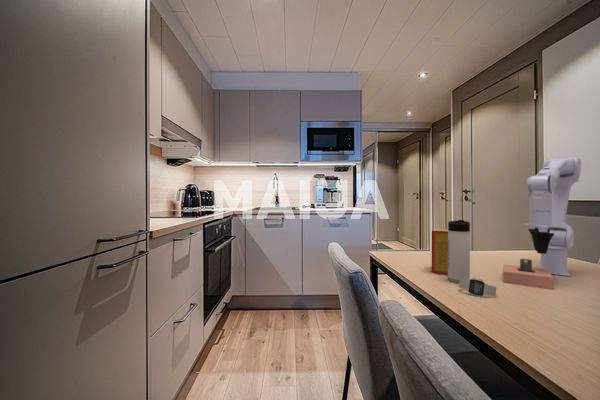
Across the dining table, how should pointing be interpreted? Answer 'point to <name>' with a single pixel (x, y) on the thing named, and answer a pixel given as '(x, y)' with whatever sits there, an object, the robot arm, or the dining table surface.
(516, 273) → the socket block
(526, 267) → the peg
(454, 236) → the travel mug
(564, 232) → the robot arm
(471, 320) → the dining table surface
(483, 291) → the wristwatch
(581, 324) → the dining table surface
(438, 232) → the baking soda box
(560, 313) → the dining table surface
